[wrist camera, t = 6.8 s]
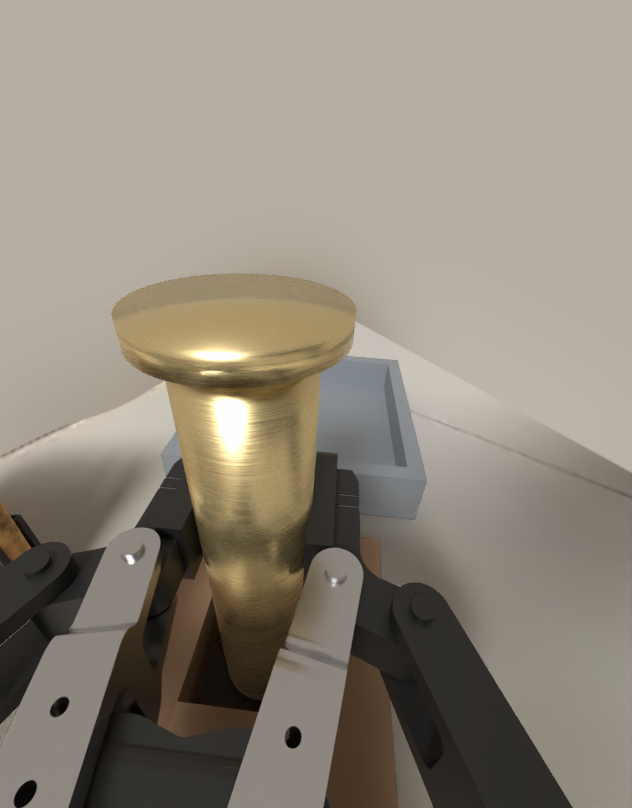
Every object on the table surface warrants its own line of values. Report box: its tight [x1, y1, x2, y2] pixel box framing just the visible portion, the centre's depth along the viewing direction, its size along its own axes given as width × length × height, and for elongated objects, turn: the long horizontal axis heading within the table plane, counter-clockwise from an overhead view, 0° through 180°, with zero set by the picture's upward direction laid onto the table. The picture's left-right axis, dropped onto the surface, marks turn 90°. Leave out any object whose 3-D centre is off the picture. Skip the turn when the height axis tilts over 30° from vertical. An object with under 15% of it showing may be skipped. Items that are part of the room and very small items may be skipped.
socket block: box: [157, 537, 398, 808], centre depth 15 cm, size 10×10×3 cm
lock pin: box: [112, 274, 356, 700], centre depth 11 cm, size 4×4×15 cm
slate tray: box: [161, 356, 427, 520], centre depth 29 cm, size 16×16×4 cm
